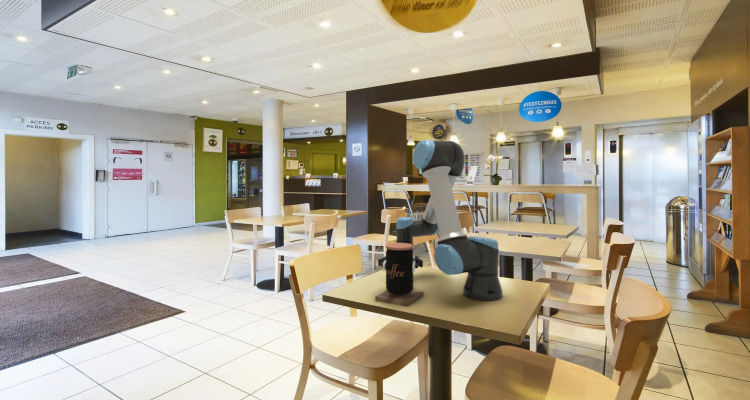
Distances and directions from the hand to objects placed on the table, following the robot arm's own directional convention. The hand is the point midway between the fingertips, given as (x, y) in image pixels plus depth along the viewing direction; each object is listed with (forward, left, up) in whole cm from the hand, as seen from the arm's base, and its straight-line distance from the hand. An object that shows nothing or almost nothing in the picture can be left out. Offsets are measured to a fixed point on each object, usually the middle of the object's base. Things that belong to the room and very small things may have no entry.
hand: (398, 268), depth 145 cm
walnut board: (+2, -4, -13) cm, 14 cm away
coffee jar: (+2, -4, -10) cm, 11 cm away
